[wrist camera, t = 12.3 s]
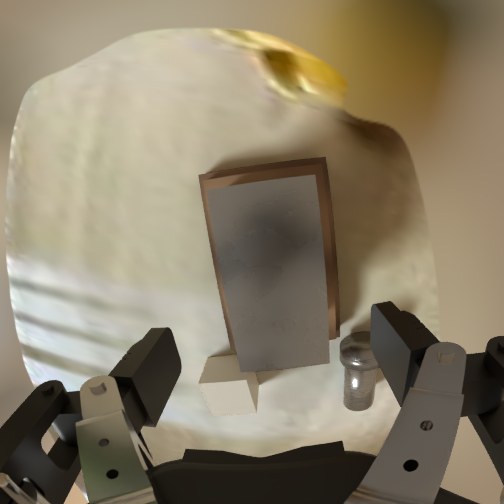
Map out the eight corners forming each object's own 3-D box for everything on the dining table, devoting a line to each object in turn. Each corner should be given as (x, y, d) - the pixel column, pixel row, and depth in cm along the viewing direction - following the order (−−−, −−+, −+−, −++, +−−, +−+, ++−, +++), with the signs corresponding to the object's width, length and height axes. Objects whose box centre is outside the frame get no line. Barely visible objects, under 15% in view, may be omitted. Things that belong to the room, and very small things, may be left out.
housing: (302, 176, 18) (316, 174, 12) (316, 316, 20) (330, 363, 15) (226, 187, 19) (205, 190, 13) (248, 324, 21) (240, 373, 15)
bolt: (374, 387, 25) (385, 414, 21) (335, 394, 25) (342, 423, 21) (380, 328, 23) (396, 353, 19) (335, 336, 23) (345, 363, 19)
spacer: (259, 384, 25) (256, 413, 22) (219, 388, 26) (212, 415, 22) (250, 352, 25) (246, 379, 21) (207, 357, 25) (198, 383, 21)
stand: (336, 328, 23) (342, 343, 21) (233, 339, 24) (229, 355, 22) (321, 158, 20) (328, 155, 18) (203, 175, 21) (194, 174, 19)
